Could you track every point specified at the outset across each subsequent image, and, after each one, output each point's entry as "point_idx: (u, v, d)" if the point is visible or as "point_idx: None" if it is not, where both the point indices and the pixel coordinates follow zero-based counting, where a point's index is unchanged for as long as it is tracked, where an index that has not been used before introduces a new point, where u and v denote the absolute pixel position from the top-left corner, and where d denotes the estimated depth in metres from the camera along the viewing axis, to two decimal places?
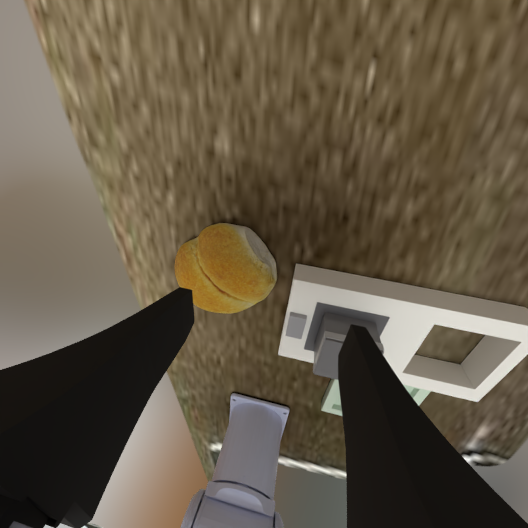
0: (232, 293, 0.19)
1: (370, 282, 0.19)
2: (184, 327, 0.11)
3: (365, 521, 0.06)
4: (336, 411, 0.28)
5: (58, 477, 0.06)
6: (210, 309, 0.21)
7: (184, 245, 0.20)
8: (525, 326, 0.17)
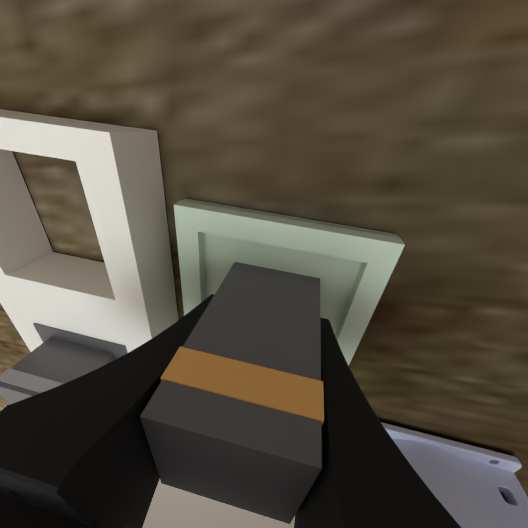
0: None
1: None
2: None
3: (305, 503, 0.06)
4: None
5: (118, 497, 0.05)
6: None
7: None
8: None
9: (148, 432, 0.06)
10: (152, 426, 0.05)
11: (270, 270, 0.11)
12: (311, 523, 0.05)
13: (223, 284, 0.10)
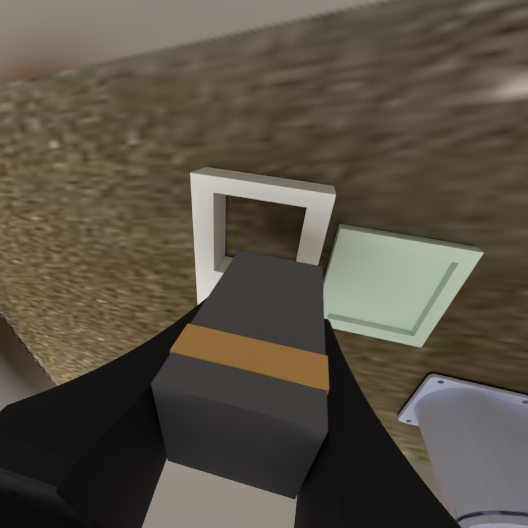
0: None
1: None
2: None
3: (305, 503, 0.06)
4: (423, 332, 0.19)
5: (117, 497, 0.05)
6: None
7: None
8: (192, 198, 0.16)
9: (158, 401, 0.06)
10: (162, 394, 0.06)
11: (273, 258, 0.11)
12: (311, 523, 0.05)
13: (228, 270, 0.10)
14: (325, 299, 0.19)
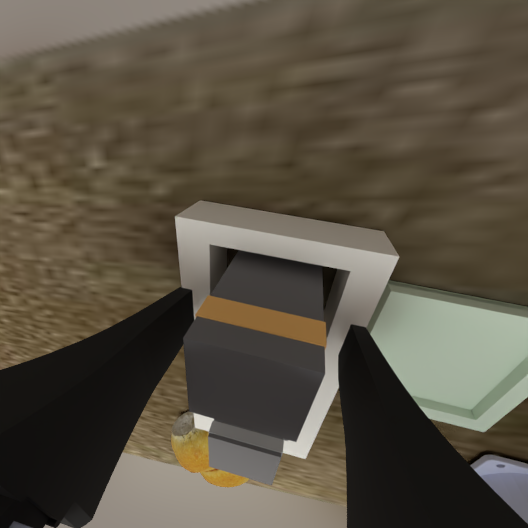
0: None
1: None
2: (184, 327, 0.11)
3: (365, 521, 0.06)
4: (491, 416, 0.14)
5: (58, 477, 0.06)
6: (242, 479, 0.22)
7: None
8: (179, 250, 0.11)
9: (187, 354, 0.07)
10: (192, 347, 0.07)
11: None
12: None
13: (238, 254, 0.11)
14: None
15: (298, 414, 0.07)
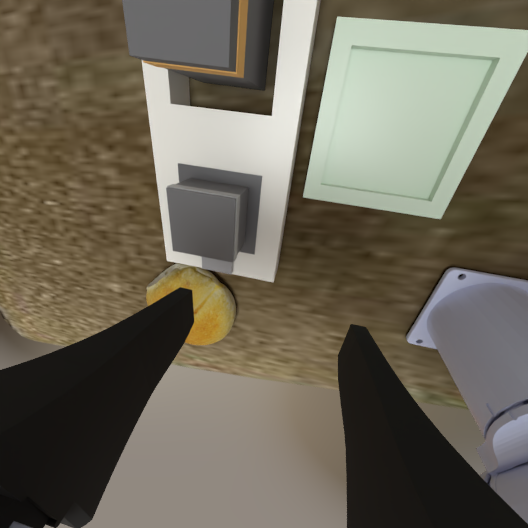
0: None
1: None
2: (184, 327, 0.11)
3: (365, 521, 0.06)
4: (444, 192, 0.15)
5: (58, 477, 0.06)
6: (215, 330, 0.22)
7: None
8: None
9: None
10: None
11: None
12: None
13: None
14: (318, 152, 0.15)
15: None
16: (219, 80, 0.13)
